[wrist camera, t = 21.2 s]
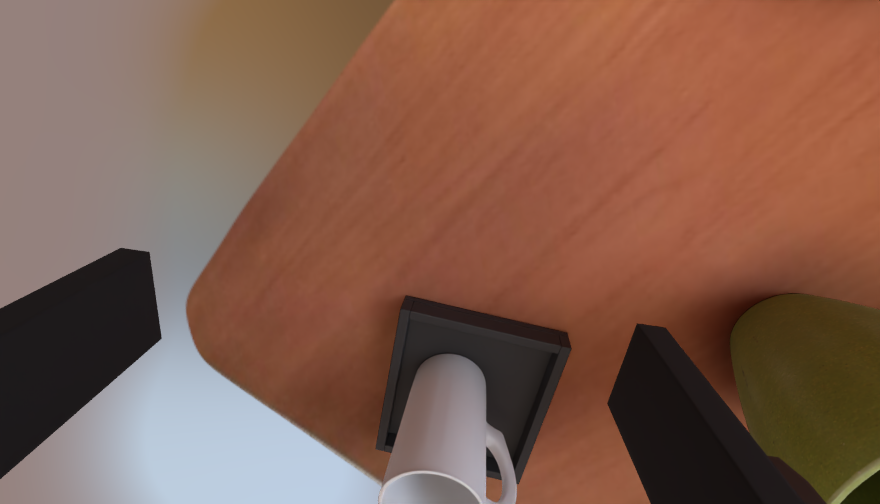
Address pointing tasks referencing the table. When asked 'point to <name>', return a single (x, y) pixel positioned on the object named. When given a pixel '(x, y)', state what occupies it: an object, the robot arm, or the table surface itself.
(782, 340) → the flower pot
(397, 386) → the tray
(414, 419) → the mug
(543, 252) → the table surface
